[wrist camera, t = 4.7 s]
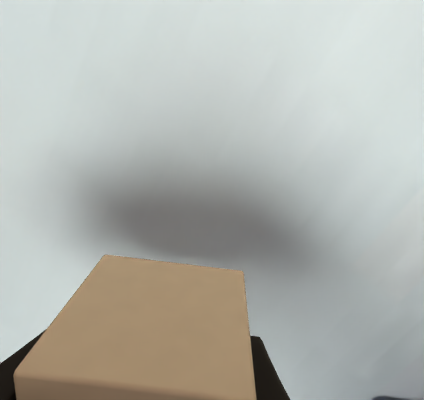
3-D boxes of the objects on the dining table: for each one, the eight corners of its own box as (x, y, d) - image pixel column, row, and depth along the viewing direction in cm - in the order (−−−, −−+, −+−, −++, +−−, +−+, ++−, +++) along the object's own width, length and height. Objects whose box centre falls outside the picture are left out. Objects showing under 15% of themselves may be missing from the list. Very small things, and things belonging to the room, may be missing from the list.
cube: (244, 269, 10) (258, 403, 6) (226, 376, 11) (226, 547, 7) (103, 253, 10) (10, 372, 6) (104, 362, 11) (30, 523, 7)
